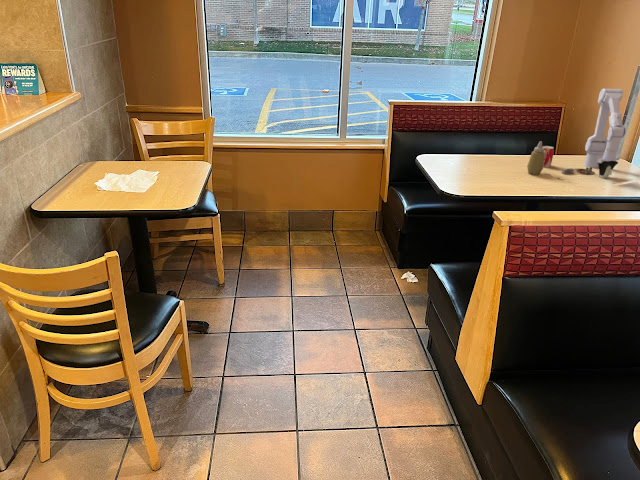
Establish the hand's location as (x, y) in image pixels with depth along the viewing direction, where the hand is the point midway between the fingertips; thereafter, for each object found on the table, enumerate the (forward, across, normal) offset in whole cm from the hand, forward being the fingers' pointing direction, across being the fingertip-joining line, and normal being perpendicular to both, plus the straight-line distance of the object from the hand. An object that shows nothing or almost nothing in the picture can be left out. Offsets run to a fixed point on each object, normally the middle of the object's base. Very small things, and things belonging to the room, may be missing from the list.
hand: (604, 174), depth 250 cm
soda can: (+3, -13, +28) cm, 31 cm away
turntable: (+3, -6, +12) cm, 13 cm away
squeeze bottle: (+3, -27, +22) cm, 35 cm away
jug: (+2, 0, 0) cm, 2 cm away
